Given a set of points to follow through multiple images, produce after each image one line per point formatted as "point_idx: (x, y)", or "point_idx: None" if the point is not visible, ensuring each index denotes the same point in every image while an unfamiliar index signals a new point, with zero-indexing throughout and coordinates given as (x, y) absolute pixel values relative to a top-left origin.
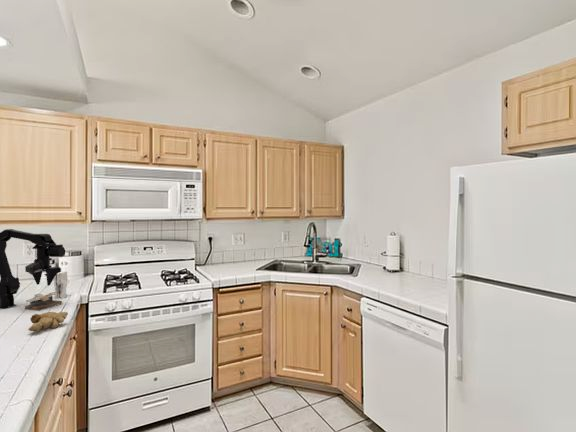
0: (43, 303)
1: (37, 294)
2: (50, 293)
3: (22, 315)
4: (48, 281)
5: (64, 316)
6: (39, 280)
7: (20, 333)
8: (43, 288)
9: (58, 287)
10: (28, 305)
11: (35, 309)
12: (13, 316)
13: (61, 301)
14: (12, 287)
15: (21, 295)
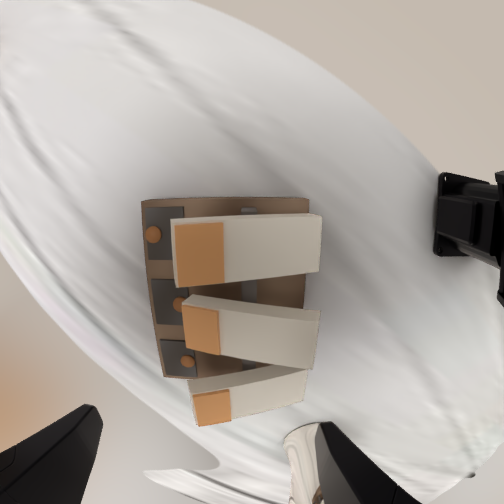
0: None
1: (301, 337)
2: (204, 391)
3: (159, 79)
4: (34, 435)
5: None
6: (325, 490)
7: (3, 9)
8: (467, 441)
9: (312, 480)
10: None
11: (187, 198)
12: (200, 47)
13: (163, 373)
14: None
15: (498, 372)
